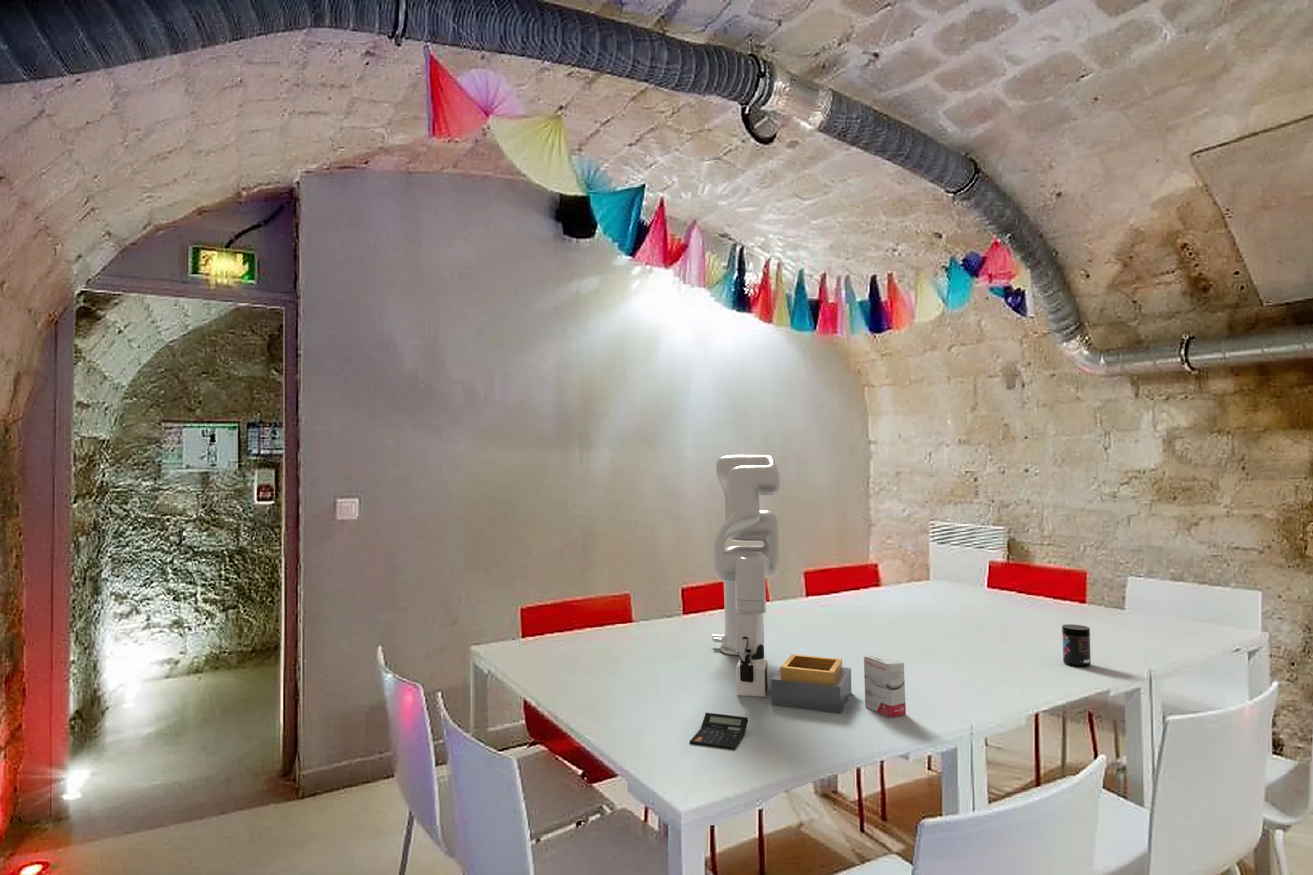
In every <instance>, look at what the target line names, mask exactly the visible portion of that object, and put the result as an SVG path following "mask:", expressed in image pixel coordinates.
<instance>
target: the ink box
mask: <svg viewBox="0 0 1313 875" xmlns="http://www.w3.org/2000/svg"><path fill="white" fill-rule="evenodd" d="M863 668H864V670H863V672H864V673H863V674H864V676H863V677H864V702H865V703H864V707H865V708H867V709H869V710H872V711H875V712H877V713H880V714H882V715H883V716H884V715H885V716H886V717H889V718H896V717H899V716H905V715H906V714H907V713H906V710H907V708H906V686H905V685H906V683H905V682H906V681H905V663H904V662H902V661H899V660H896V659H893V658H890V657H887V656H885V655H882V654H873V655H870V654H868V655H865V656H864V657H863Z"/></svg>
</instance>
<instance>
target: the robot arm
mask: <svg viewBox="0 0 1313 875" xmlns="http://www.w3.org/2000/svg"><path fill="white" fill-rule="evenodd" d="M715 469H716V475H717V478H718V481H719V484H720V486H721V488H722V492H723V495H724V496H723V497H724V523H723V524H722V525H721V527H719V530H718V532H717V534H716V536H715V539H714V543H713V544H714V546H713V549H714V551H713V554H714V572H715V575H716V577H717V578H718V579H719V580H721V581H723V596H724V601H723V602H724V633H723V634H721V635H720V634H714V633H713V634H712V636H711V637H712V641H713V643H720V646H719V650H720V652H722V653H724V654H726V655H731V656H739V659H740V680H741V681H743V682H753V681H754V679H753V665H752V660H753V655H754V654H756V653H757V648H758V647H759V645H760V644H762V645H763V646H764V645H765V624H764V614H765V613H766V612H767V600H766V598H767V597H766V595H767V594H766V589H767V588H766V578H772V577H773V578H774V577H776V575H778V572H779V568H780V549H779V548H780V547H779V543H780V542H779V522H778V518H777V515H776V514H775V512H773V511H771V510H766V509H764V510H763V509H762V510H761V507H760V506H761V505H760V496H775V495H776V494H778V493H779V491H780V487H781V476H780V471H779V468H778V465H777V463H776V461H775V458H774V457H773V456H772V455H769V454H767V455H766V454H731V455H724V456H721V457H719V458H718V459H717V461H716V465H715ZM728 540H730V541H731V542H741V543H744V542H745V543H748V542H750V543H751V542H754V543H757V542H761V543H762V544H763V545H733V546H728V547H726V548H725V546H726V545H725V544H726V542H727V541H728ZM764 647H765V646H764ZM746 650H751V652H746ZM748 656H749V659H748Z"/></svg>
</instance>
